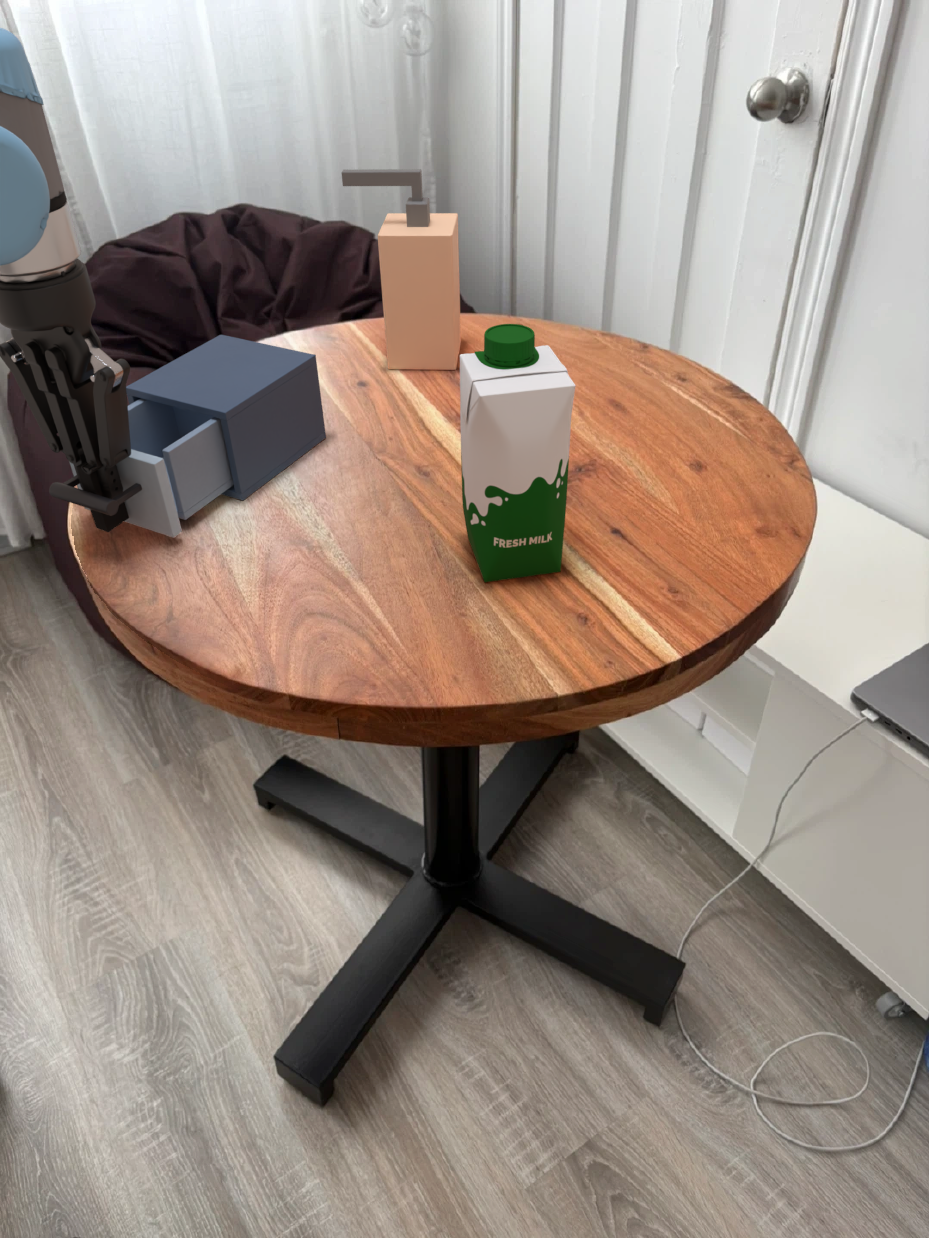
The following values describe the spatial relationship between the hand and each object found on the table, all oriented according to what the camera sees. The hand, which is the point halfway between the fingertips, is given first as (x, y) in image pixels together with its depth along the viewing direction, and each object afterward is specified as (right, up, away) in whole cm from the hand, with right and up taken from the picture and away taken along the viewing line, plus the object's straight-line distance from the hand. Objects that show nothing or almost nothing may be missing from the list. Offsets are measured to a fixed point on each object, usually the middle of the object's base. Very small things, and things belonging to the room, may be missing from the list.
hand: (112, 522), depth 86 cm
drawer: (+3, +3, +5) cm, 6 cm away
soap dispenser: (+26, +25, +33) cm, 48 cm away
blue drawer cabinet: (+8, +9, +13) cm, 18 cm away
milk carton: (+37, -3, -2) cm, 37 cm away
